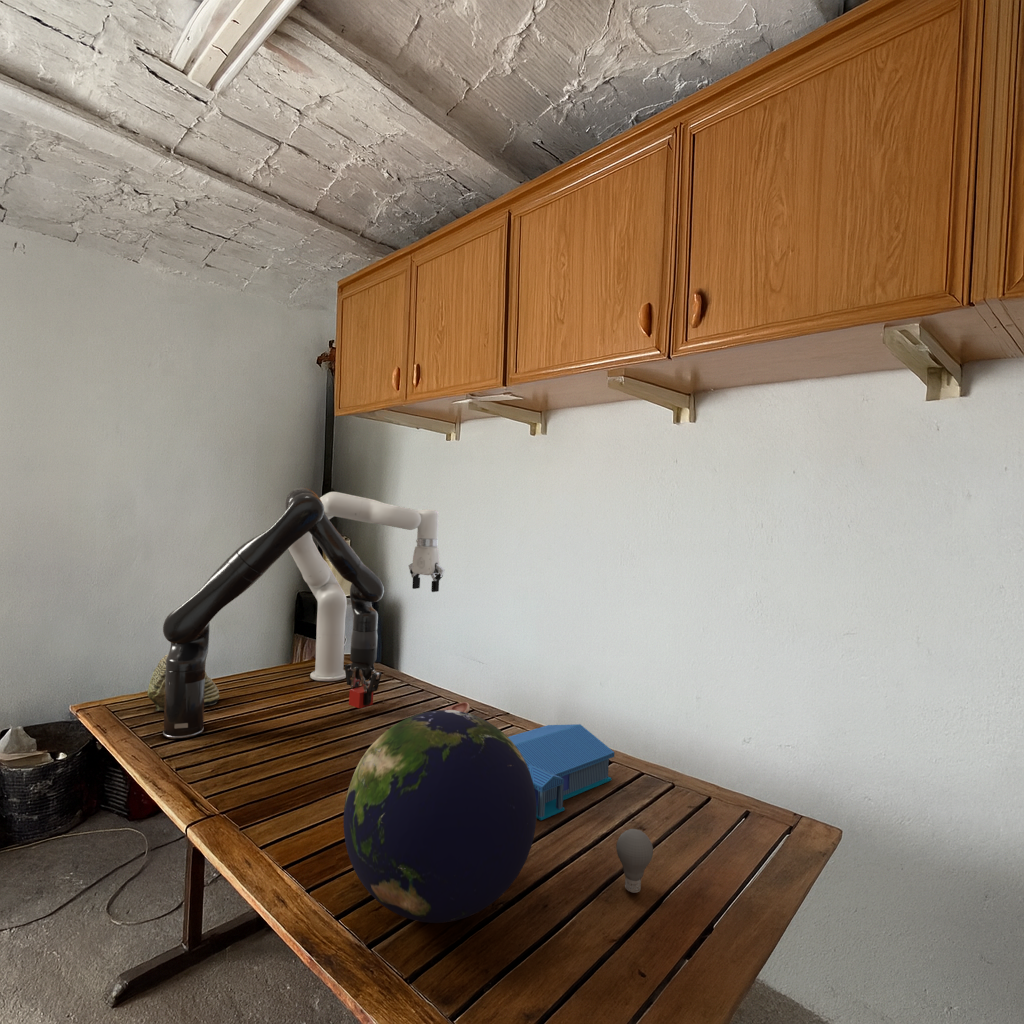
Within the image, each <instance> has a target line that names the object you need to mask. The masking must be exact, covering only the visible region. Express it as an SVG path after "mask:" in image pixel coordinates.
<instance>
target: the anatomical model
mask: <svg viewBox="0 0 1024 1024" xmlns="http://www.w3.org/2000/svg"><path fill="white" fill-rule="evenodd" d="M438 710H439V709H438ZM438 710H436V711H438ZM440 710H456V711H461V712H464V713H469V711H470V704H469V703H468V702H467V701H465V702H459V703H456V704H452V705H448V706H446V707H444V708H441V709H440Z"/></svg>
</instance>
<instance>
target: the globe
mask: <svg viewBox="0 0 1024 1024" xmlns="http://www.w3.org/2000/svg"><path fill="white" fill-rule="evenodd" d="M508 737H509V736H508V735H507V734H505V732H503V731H502V730H501V729H500V728H498V727H497V726H495V725H494V724H492V723H491V722H489V721H488V720H485V719H483V718H482V717H479V716H477V715H475V714H472V713H469V712H468V713H464V712H461V711H456V710H441V709H438V711H437V710H430V711H425V712H422V713H421V712H420V713H418V714H414V715H412V716H409V717H407V718H405V719H403V720H401V721H399V722H397V723H395V724H394V725H393V726H391V727H390V728H388V729H387V730H386V731H385V732H383V733H382V734H381V735H380V736H378V738H377V739H376V740H375V741H374V742H373V743H372V744H371V745H370V746H369V747H368V749H367V750H366V751H365V753H364V754H363V756H362V757H361V758H360V760H359V762H358V764H357V765H356V768H355V770H354V773H353V775H352V777H351V778H350V782H349V784H348V789H347V791H346V797H345V800H344V809H343V835H344V843H345V847H346V851H347V855H348V858H349V861H350V863H351V866H352V868H353V870H354V873H355V874H356V876H357V878H358V880H359V881H360V882H361V884H362V885H363V887H364V888H365V889H366V890H367V892H368V893H369V894H370V895H371V896H372V897H373V899H375V901H377V903H379V904H381V905H382V906H383V907H384V908H386V909H387V910H389V911H391V912H392V913H394V914H396V915H398V916H400V917H403V918H406V919H408V920H411V921H416V922H419V923H427V924H428V923H429V924H444V923H451V922H456V921H459V920H463V919H467V918H469V917H471V916H473V915H476V914H478V913H480V912H482V911H483V910H485V909H487V908H488V907H489V906H490V905H492V904H494V903H495V902H496V901H497V900H498V899H499V898H501V896H503V895H504V893H506V891H508V889H510V887H511V886H512V885H513V883H514V882H515V881H516V879H517V878H518V876H519V875H520V873H521V871H522V869H523V867H524V866H525V864H526V862H527V860H528V857H529V854H530V852H531V849H532V845H533V843H534V838H535V832H536V827H537V818H536V817H537V806H536V795H535V790H534V785H533V781H532V778H531V774H530V772H529V769H528V766H527V764H526V762H525V760H524V758H523V756H522V755H521V753H520V751H519V750H518V749H517V747H516V746H515V745H514V744H513V742H512V741H511V740H510V739H509V738H508Z"/></svg>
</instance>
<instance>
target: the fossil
mask: <svg viewBox="0 0 1024 1024" xmlns="http://www.w3.org/2000/svg"><path fill="white" fill-rule="evenodd" d="M167 656H168V654H165V655H164V656H163V657H162V658H161V659H160V660H159V662H158V663H157V666H156V667H155V669H154V670H153V672H152V675H151V677H150V680H149V684H148V688H147V697H148V699H149V700H150V701H152V703H153V704H154V706H155V711H158V712H159V711H162V712H163V711H164V705H165V674H166V659H167ZM220 698H221V696H220V690H219V688H218V686H217V685H216V683H215V682H214V681H213V679H212V678H211V677H209V675H208V674H207V672H206V671H205V693H204V707H207V706H213V705H215V704H217V703H218V701H219V699H220Z"/></svg>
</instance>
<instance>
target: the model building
mask: <svg viewBox="0 0 1024 1024" xmlns="http://www.w3.org/2000/svg"><path fill="white" fill-rule="evenodd" d="M507 737H508V738H509V739H510V740H511V741H512V742H513V744H514V745H515V746H516V747H517V749H518V750H519V751H520V753H521V755H522V756H523V758H524V760H525V762H526V764H527V766H528V769H529V772H530V774H531V778H532V781H533V785H534V790H535V795H536V806H537V817H536V820H539V821H543V820H546V819H549V818H551V817H553V816H555V815H558V814H559V813H562V812H564V811H565V810H566V809H565V807H564V805H563V804H564V801H565V800H568V799H570V798H572V797H575V796H577V795H580V794H582V793H585V792H587V791H589V790H591V789H594V788H597V787H599V786H601V785H603V784H606V783H609V782H610V781H612V779H613V778H612V777H610V776H609V766H610V765H609V763H610V759H612V758H614V757H615V751H613V750H612V749H611V748H610V747H609V746H608V745H606V744H605V743H604V742H603V741H601V740H600V738H598V737H597V736H595V735H594V734H593V733H592V732H591V731H589V730H588V729H587V728H586V727H584V726H583V725H582V724H580V723H578V724H576V723H575V724H548V725H547V724H546V725H544V726H541V727H537V728H533V729H530V730H526V731H524V732H520V733H517V734H514V735H513V734H512V735H510V736H507Z"/></svg>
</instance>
